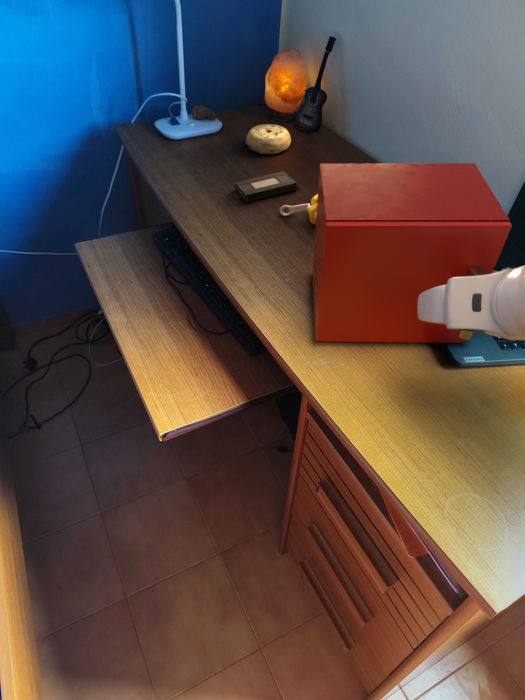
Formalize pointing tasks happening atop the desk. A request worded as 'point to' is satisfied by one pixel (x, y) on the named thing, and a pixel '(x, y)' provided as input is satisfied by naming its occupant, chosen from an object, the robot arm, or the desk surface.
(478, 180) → the cabinet
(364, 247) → the door
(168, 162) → the desk surface
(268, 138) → the bagel
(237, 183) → the vhs tape
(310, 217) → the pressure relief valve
